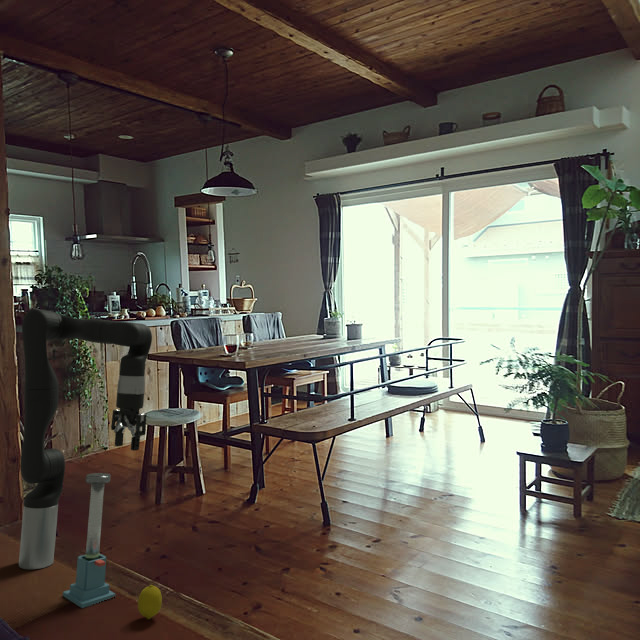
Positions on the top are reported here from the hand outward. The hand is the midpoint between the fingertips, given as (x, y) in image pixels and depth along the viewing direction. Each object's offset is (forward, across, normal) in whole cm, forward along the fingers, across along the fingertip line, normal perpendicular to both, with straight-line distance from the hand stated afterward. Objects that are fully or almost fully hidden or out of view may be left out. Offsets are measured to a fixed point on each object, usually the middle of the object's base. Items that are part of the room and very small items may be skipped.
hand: (126, 448), depth 162 cm
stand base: (+36, +7, -12) cm, 39 cm away
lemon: (+36, +28, -8) cm, 47 cm away
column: (+30, +7, -12) cm, 33 cm away
